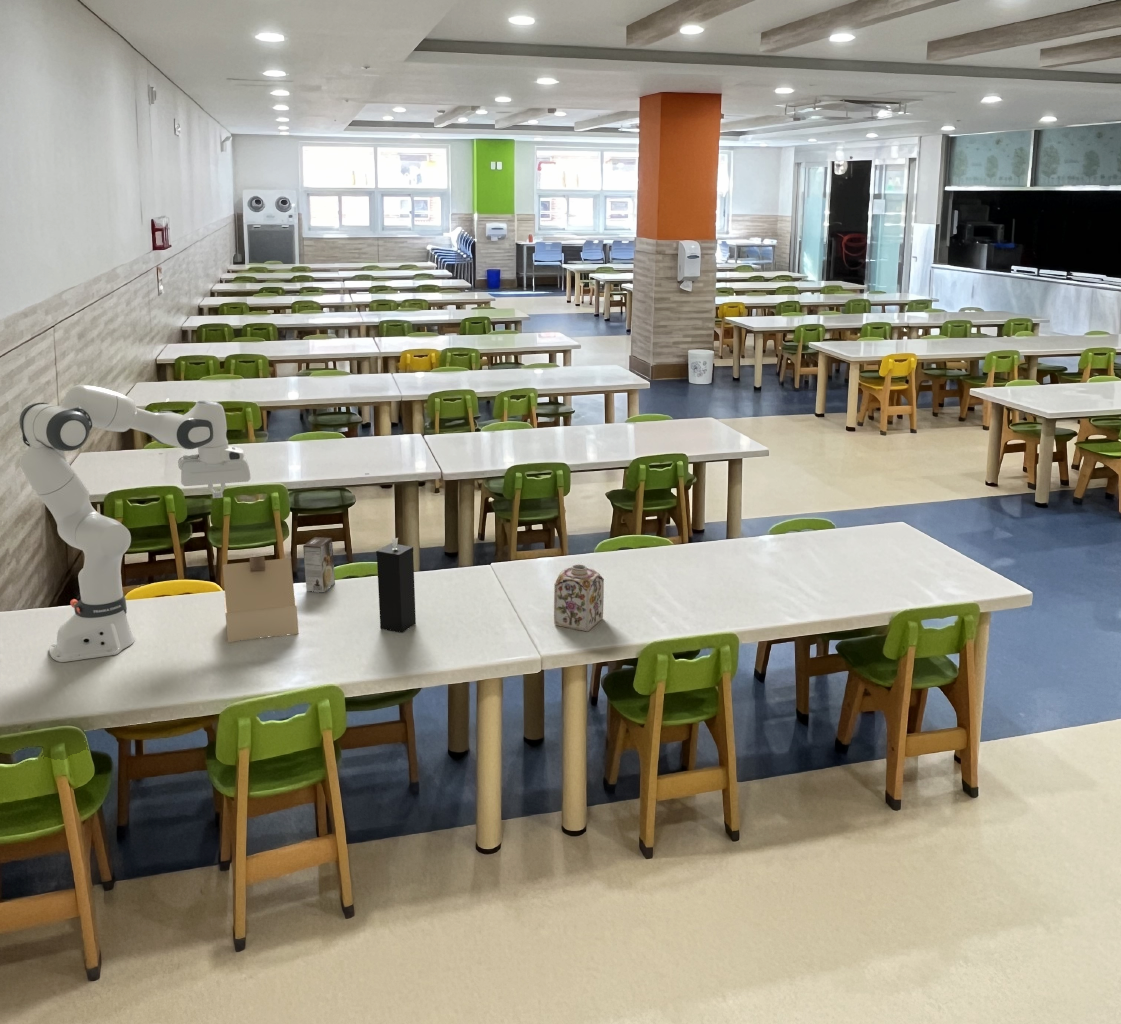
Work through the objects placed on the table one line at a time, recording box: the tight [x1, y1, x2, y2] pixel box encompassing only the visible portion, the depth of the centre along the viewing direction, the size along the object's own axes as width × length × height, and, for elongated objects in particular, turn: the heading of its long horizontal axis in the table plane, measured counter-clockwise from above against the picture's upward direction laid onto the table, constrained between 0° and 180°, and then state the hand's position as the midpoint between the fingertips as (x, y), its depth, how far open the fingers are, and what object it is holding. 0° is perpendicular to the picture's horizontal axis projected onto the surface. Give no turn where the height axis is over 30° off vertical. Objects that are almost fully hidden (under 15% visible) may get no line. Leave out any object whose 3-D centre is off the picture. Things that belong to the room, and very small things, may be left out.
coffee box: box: [302, 536, 336, 593], centre depth 352 cm, size 9×6×16 cm
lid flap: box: [222, 555, 296, 613], centre depth 310 cm, size 19×14×9 cm
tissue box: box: [375, 537, 417, 634], centre depth 320 cm, size 8×8×28 cm
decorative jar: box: [553, 563, 605, 632], centre depth 325 cm, size 12×12×18 cm
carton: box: [223, 595, 299, 643], centre depth 321 cm, size 20×14×9 cm
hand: (217, 497), depth 330 cm, fingers closed
